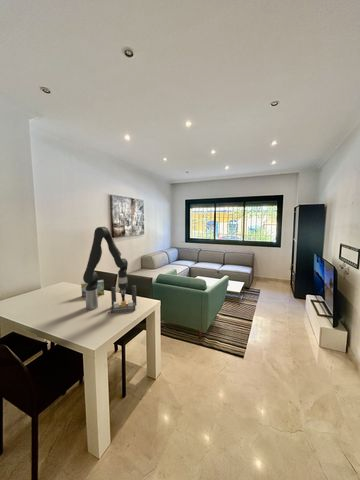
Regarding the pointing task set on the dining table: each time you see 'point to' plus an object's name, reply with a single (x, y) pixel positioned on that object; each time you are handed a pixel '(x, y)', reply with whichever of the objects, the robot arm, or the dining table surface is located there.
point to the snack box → (99, 288)
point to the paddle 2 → (130, 303)
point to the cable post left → (113, 295)
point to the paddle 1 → (116, 304)
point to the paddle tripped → (123, 303)
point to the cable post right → (134, 294)
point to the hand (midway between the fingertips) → (123, 300)
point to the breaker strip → (123, 308)
